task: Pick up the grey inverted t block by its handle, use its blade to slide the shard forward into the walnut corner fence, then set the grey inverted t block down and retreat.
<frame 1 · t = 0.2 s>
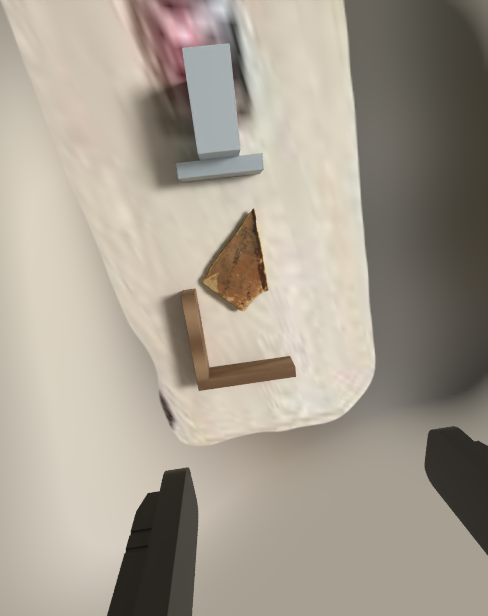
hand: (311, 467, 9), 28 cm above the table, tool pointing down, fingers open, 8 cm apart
shard: (231, 263, 36), on the table
grey inverted t block: (214, 122, 31), on the table
corner fence: (241, 336, 39), on the table
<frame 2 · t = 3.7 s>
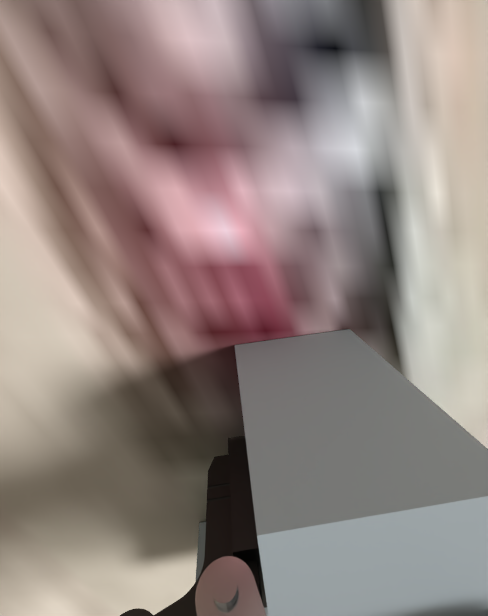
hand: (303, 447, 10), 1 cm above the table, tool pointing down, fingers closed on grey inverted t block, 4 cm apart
grey inverted t block: (298, 430, 11), on the table, touching gripper
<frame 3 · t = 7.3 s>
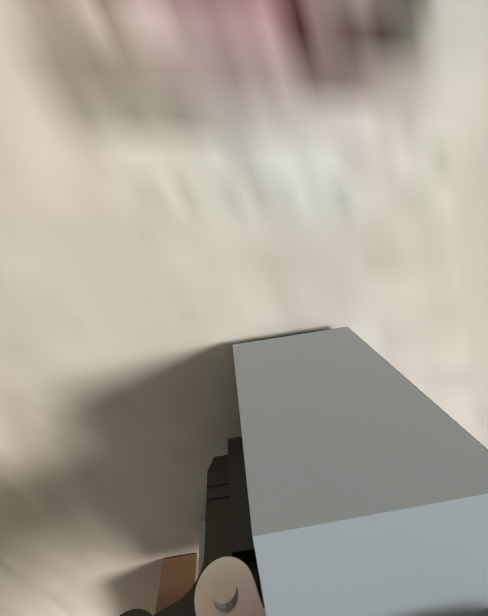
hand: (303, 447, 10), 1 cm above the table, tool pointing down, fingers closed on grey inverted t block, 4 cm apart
grey inverted t block: (298, 429, 11), on the table, touching gripper
when the fingers open (1 cm above the table, at t = 9.2 s): grey inverted t block stays where it is, on the table.
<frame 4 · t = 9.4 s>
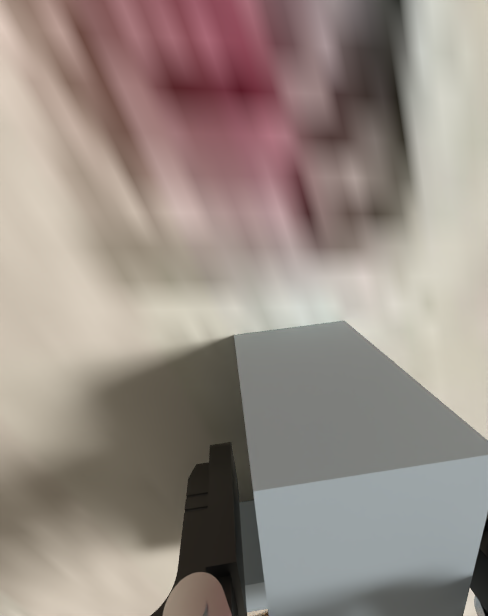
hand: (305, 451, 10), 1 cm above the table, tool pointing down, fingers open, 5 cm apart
grey inverted t block: (294, 418, 11), on the table
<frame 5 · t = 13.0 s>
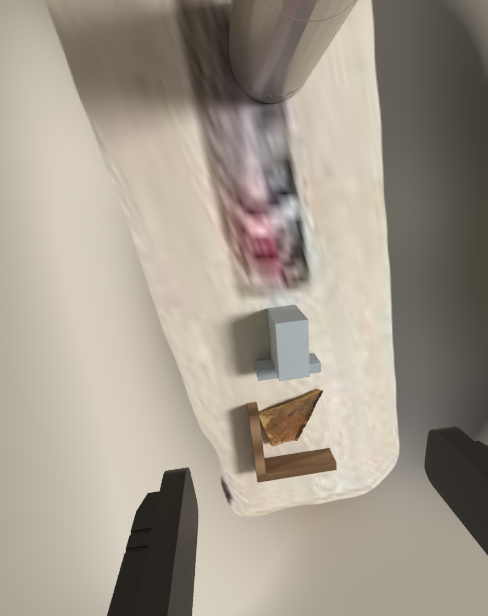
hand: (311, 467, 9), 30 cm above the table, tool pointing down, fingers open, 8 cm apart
shard: (283, 409, 46), on the table
grey inverted t block: (282, 332, 41), on the table
corner fence: (290, 435, 47), on the table
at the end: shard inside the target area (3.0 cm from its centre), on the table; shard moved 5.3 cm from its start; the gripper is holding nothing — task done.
